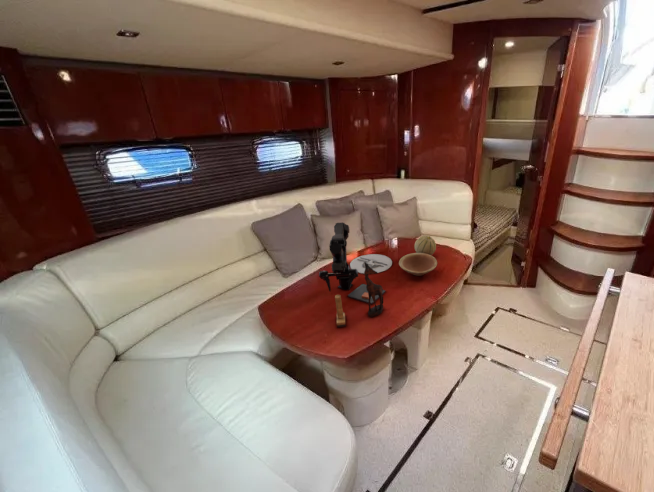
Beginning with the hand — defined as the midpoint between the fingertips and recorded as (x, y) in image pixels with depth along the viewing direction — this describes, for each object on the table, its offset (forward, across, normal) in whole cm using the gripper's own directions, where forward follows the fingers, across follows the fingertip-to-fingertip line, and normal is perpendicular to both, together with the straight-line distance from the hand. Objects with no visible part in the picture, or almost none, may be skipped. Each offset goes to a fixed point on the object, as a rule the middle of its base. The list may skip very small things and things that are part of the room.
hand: (339, 290), depth 149 cm
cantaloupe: (-32, +53, +51) cm, 81 cm away
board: (-2, +12, +20) cm, 24 cm away
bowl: (-17, +45, +36) cm, 59 cm away
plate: (-28, +15, +47) cm, 56 cm away
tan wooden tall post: (+15, 0, +4) cm, 15 cm away
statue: (+11, +17, +8) cm, 22 cm away
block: (0, +12, +17) cm, 21 cm away
